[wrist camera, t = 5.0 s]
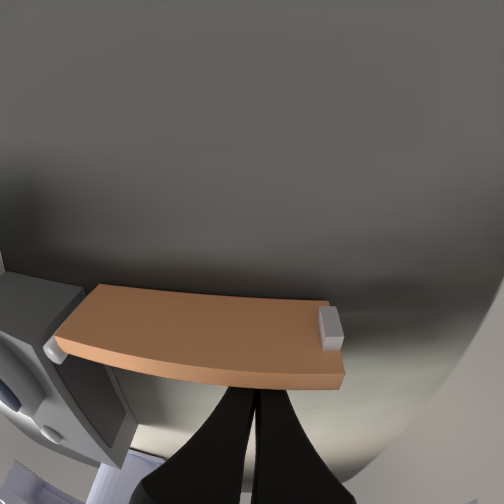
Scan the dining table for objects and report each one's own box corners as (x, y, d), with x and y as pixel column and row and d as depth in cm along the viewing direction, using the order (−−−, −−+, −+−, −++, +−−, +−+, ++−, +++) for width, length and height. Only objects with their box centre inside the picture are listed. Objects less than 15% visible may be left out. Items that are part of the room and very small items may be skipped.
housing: (140, 425, 17) (116, 489, 12) (69, 400, 18) (41, 452, 12) (86, 287, 12) (9, 376, 6) (7, 270, 12) (-56, 327, 7)
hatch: (91, 307, 12) (49, 360, 9) (80, 270, 11) (29, 320, 8) (322, 329, 11) (334, 406, 8) (330, 288, 11) (351, 365, 7)
